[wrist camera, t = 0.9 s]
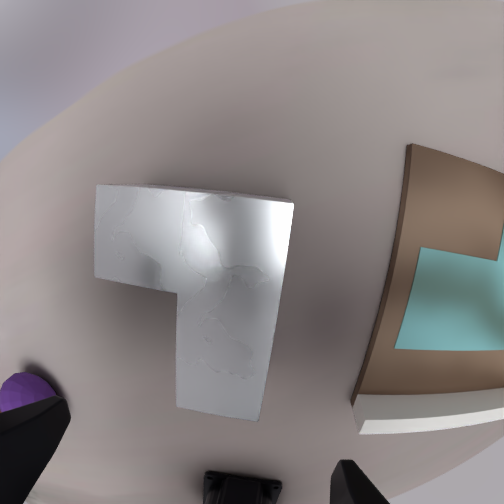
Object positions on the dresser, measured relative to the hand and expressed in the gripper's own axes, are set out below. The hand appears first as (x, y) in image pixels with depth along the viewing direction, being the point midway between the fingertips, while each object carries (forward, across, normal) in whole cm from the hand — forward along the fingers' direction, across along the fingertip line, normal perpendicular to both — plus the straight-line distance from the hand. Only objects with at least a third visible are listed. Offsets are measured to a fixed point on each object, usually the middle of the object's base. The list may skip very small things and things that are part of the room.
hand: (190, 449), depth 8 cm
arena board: (+10, -16, -3) cm, 19 cm away
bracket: (+10, +2, -2) cm, 10 cm away
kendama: (+10, +22, +16) cm, 29 cm away
